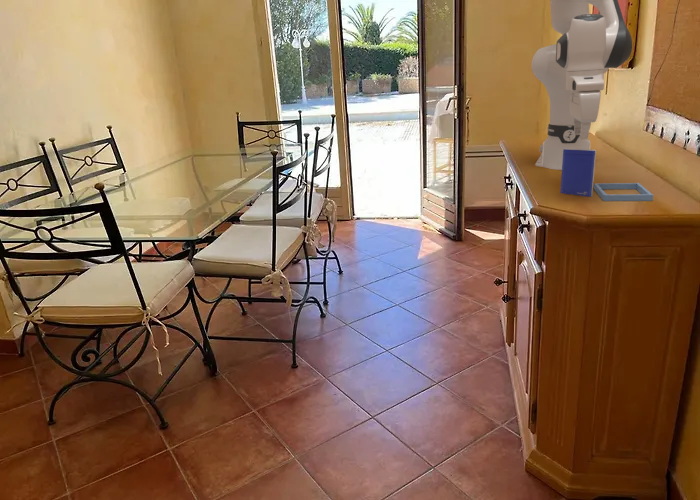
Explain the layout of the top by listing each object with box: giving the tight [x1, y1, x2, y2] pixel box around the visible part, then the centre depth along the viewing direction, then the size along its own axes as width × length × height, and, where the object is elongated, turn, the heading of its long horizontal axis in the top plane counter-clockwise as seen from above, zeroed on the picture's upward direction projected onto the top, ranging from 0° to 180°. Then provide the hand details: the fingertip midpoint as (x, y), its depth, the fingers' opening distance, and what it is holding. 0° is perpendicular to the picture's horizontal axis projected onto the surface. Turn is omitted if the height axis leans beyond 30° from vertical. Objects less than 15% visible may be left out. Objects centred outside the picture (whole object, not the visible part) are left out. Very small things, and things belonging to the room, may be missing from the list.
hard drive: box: [560, 149, 597, 198], centre depth 147 cm, size 2×8×12 cm, turn 52°
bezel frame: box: [593, 182, 654, 202], centre depth 146 cm, size 14×12×2 cm
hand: (580, 136), depth 144 cm, fingers open, 8 cm apart
